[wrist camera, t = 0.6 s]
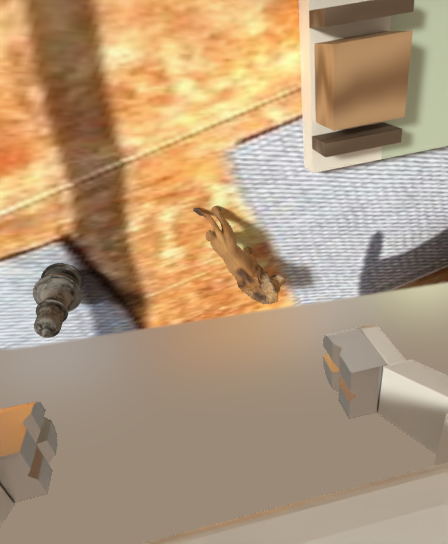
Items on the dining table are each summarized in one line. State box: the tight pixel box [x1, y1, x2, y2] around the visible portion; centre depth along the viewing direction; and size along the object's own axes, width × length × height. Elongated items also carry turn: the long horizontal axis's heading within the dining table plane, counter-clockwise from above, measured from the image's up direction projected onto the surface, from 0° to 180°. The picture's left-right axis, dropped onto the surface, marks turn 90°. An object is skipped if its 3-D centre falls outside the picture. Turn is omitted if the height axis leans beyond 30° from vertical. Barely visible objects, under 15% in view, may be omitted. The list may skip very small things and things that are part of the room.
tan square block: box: [314, 30, 413, 131], centre depth 42 cm, size 8×8×5 cm
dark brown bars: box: [309, 0, 414, 157], centre depth 43 cm, size 14×9×4 cm, turn 8°
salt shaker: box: [33, 263, 83, 338], centre depth 49 cm, size 6×6×12 cm
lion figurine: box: [193, 206, 285, 304], centre depth 52 cm, size 15×5×9 cm, turn 43°
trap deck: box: [299, 0, 448, 173], centre depth 46 cm, size 20×30×3 cm, turn 98°
